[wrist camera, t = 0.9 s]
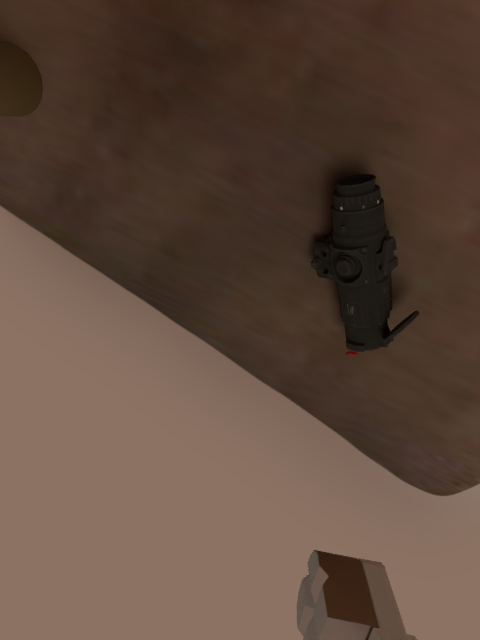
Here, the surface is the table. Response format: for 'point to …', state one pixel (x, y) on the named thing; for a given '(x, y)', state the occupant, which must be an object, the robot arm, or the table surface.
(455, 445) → the table surface
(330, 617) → the robot arm
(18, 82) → the cork
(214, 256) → the table surface
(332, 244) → the night vision scope
